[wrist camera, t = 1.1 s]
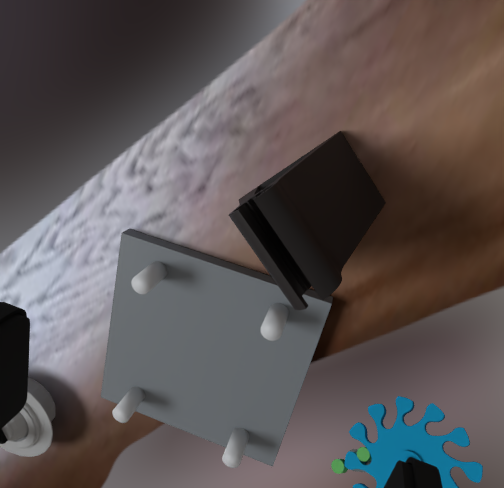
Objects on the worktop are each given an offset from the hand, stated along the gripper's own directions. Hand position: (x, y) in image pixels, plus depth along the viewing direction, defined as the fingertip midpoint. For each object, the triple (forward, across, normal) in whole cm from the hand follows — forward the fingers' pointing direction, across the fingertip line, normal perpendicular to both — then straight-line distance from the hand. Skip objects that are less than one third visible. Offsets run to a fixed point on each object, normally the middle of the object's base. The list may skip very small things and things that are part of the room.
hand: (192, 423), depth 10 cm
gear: (+23, -13, +17) cm, 32 cm away
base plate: (+23, +5, +16) cm, 28 cm away
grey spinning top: (+23, +23, +31) cm, 45 cm away
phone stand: (+23, 0, 0) cm, 23 cm away
